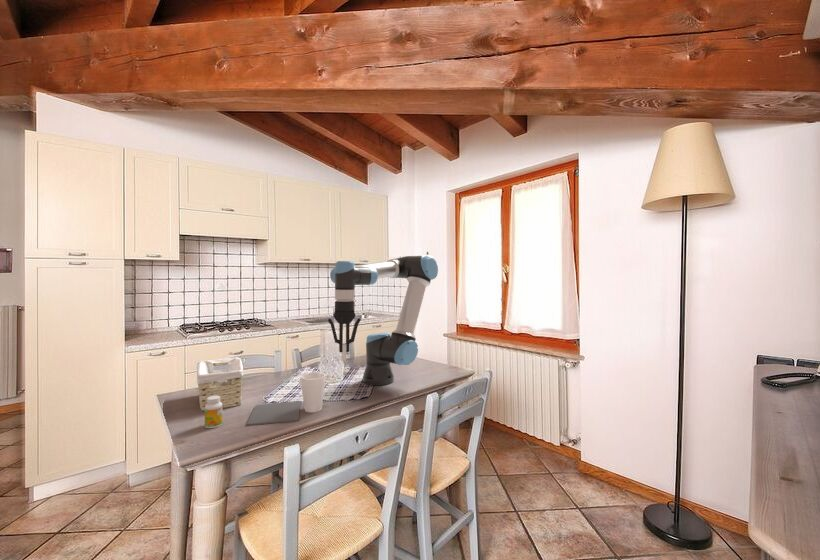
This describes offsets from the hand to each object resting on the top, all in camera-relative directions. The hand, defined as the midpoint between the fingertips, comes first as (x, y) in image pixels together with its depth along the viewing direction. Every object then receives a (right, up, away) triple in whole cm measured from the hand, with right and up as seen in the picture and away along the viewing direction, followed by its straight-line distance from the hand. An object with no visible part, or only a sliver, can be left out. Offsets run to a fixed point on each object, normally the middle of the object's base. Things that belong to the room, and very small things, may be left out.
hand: (344, 360), depth 140 cm
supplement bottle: (-42, -19, -17) cm, 49 cm away
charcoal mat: (-24, -18, -6) cm, 31 cm away
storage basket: (-52, -18, +7) cm, 56 cm away
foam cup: (-12, -19, -2) cm, 22 cm away
